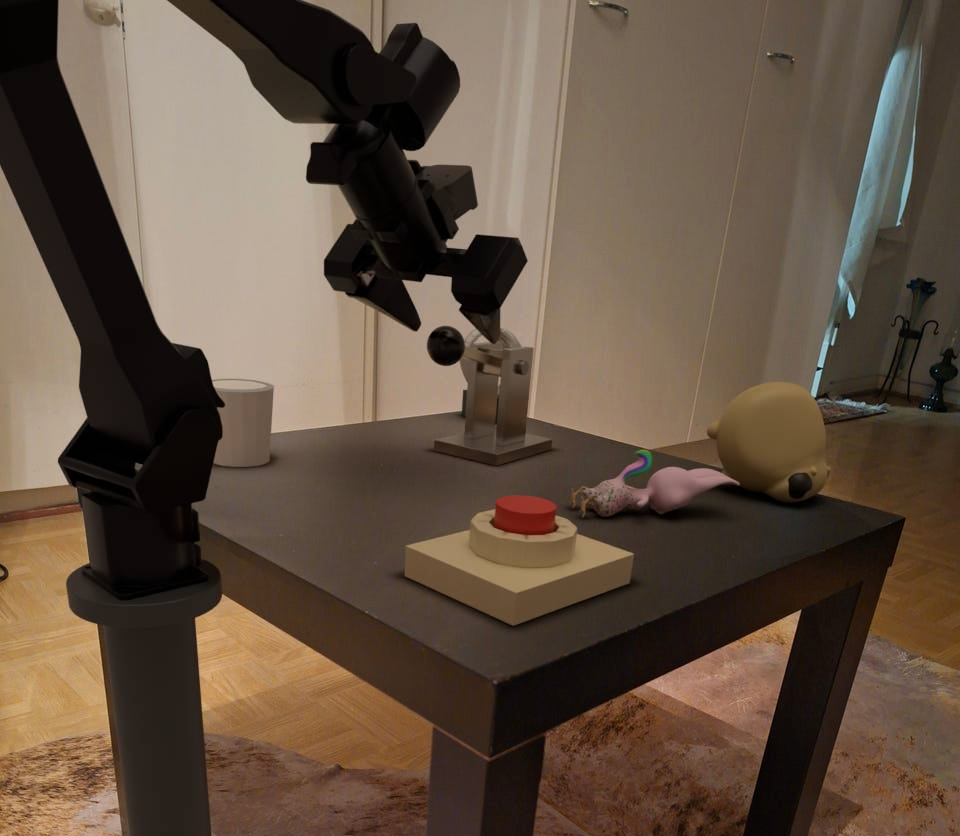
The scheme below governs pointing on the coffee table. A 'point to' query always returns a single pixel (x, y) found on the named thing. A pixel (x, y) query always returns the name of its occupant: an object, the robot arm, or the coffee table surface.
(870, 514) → the coffee table surface
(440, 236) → the robot arm
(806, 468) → the tan animal figure
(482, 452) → the switch bracket
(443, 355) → the lever
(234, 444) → the white cup
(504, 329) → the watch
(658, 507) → the pink toy creature
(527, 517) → the button
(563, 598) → the control block
